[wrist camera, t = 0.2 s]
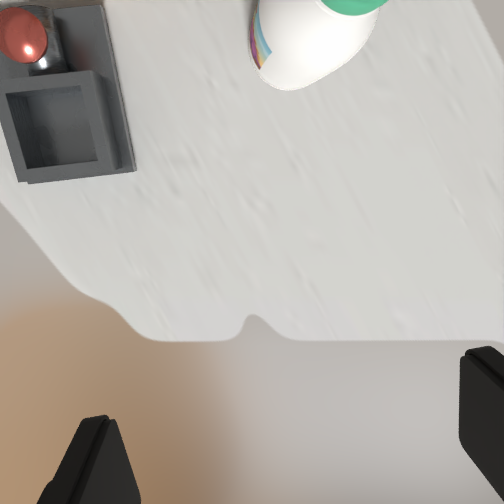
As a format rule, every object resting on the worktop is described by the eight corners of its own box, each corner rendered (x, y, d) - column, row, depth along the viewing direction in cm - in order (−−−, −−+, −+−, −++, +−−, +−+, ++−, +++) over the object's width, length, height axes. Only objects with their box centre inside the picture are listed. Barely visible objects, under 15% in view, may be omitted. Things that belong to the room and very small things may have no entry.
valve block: (-13, 20, 33) (-66, -5, 27) (104, 8, 33) (77, -20, 27) (34, 182, 37) (-3, 192, 31) (136, 170, 37) (120, 177, 31)
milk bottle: (345, 33, 35) (491, -83, 16) (298, 107, 37) (380, 81, 18) (277, -22, 33) (351, -224, 14) (231, 59, 35) (242, -28, 16)
